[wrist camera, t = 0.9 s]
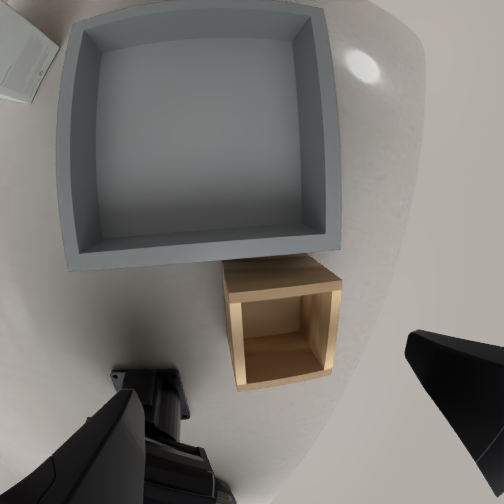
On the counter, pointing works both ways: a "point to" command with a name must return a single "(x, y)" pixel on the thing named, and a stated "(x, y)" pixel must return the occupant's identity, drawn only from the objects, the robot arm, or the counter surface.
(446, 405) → the robot arm
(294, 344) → the oak crate
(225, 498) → the beer stein
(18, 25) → the small box
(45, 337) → the counter surface
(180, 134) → the slate gray crate
